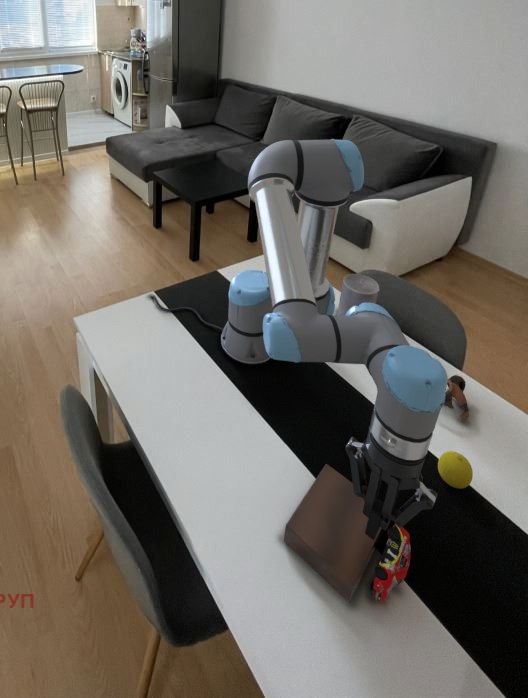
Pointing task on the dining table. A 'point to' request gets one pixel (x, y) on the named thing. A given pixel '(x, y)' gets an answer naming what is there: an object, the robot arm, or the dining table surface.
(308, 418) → the dining table surface
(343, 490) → the walnut step
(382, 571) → the race car
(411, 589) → the dining table surface
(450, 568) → the dining table surface
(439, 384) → the robot arm
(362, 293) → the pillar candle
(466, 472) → the lemon
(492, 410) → the dining table surface
